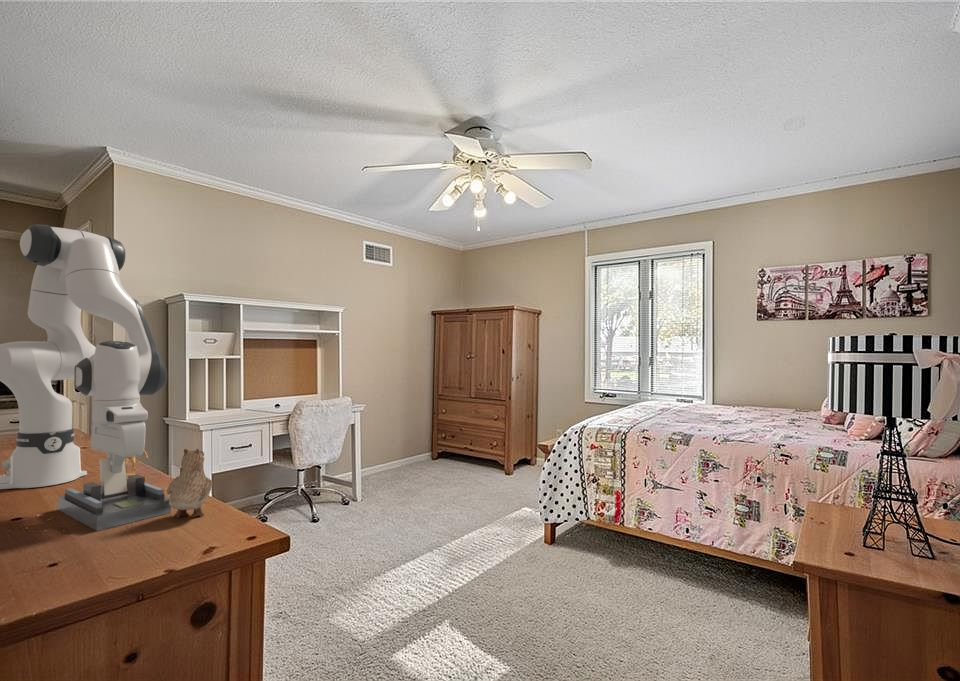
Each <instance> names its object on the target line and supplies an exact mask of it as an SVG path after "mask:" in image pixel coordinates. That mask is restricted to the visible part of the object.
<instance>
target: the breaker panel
mask: <svg viewBox="0 0 960 681" xmlns="http://www.w3.org/2000/svg"><path fill="white" fill-rule="evenodd" d="M145 483H146V482H145V476H143V475H140V474H136V473H135V475H130V476H128V487H127V489H128V494H125V495H120V496H116V497H111V498H106V499H101V484H98V483H96V482H87V483H83V488H82V489H83V490H82V491H80V492H81V493H83V494H85V495H87V496H90V497H92V498H94V499H96V500H98V501H100V502H102V507H103V512H102V513H95V512H93V511H91V510H89V509H87V508H85V507H83V506H81V505H79V504H77V503H75V502H73V501H71V500H69V499H67V498H65V494H64V495H61V496H58V499H57V500H58V502H57V503H58V504H57V510H58V511H60V512H62V513H63V514H65V515H66V516H69V517H71V518H72V519H74V520H76V521H78V522H79V523H82V524H83V525H85V526H86V527H89V528H90V529H92V530H94V531H97V532H98V531H103V530H107V529H111V528H114V527H115V528H116V527H120V526H123V525H127V524H131V523H134V522H135V523H136V522H138V521H143V520H147V519H150V518H155V517H158V516H162V515H163V516H164V515H166V514H171V513H172V507H171V506H170V505H169V499H170V497H169V498H168V497H167V496H164V499H157V498H155V497H152V496H149V495H147V494H144V488H145Z"/></svg>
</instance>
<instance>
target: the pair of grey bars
mask: <svg viewBox="0 0 960 681" xmlns="http://www.w3.org/2000/svg"><path fill="white" fill-rule="evenodd" d="M126 480H127V487H128V478H126ZM164 489H165V488H162V487H158V486H155V485H153V484H150V483H148V482H145V488H144V494H147V495H149V496H152V497H155V498H157V499H164V497H165V493H164V492H165V491H164ZM81 492H82V491H79V490H76V489H74V488H72V487H71V488H66V489H65V493H64V495H65V498H67V499H69V500H71V501H73V502H75V503H77V504H79V505H81V506H83V507H85V508H87V509H89V510H91V511H93V512H95V513H102V512H103V507H102V502H100V501H98V500H96V499H94V498H92V497H90V496H87V495H85V494H83V493H81Z"/></svg>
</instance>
